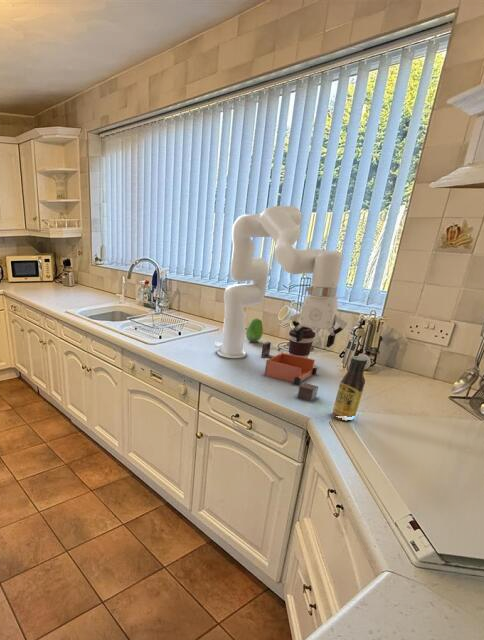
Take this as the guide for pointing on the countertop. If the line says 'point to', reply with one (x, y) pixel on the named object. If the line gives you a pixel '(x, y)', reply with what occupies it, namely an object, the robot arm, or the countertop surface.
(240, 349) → the robot arm
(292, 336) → the coffee cup
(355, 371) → the sauce bottle
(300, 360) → the tub
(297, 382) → the wheel axle
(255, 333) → the avocado
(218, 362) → the countertop surface
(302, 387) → the block
